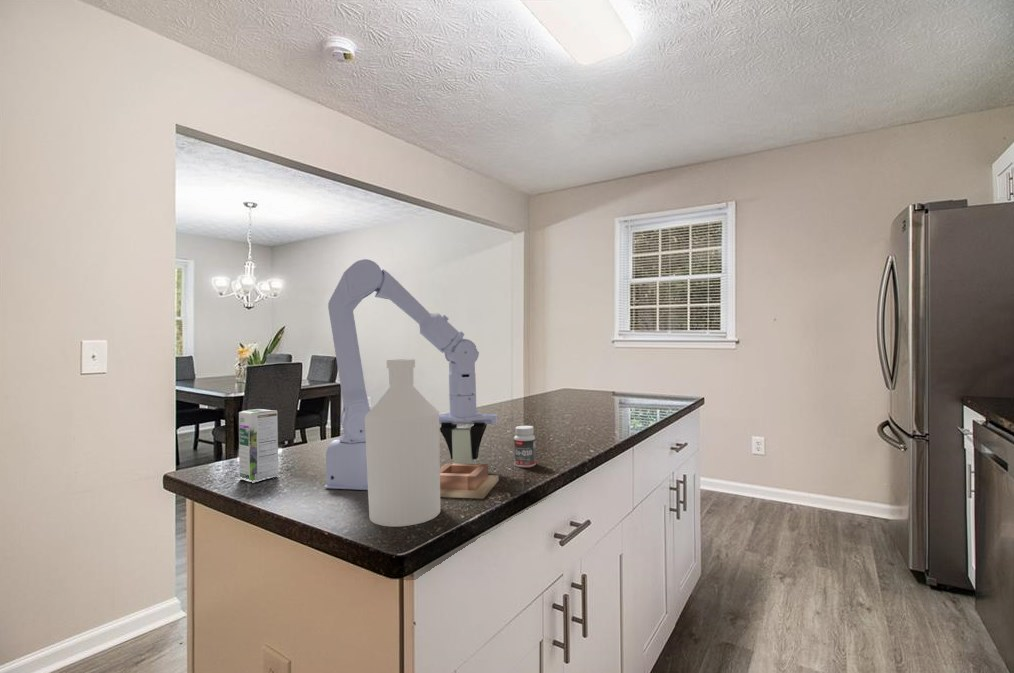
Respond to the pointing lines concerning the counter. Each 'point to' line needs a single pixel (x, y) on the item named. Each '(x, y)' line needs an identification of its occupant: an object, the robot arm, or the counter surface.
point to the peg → (462, 445)
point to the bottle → (402, 453)
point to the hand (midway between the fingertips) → (464, 458)
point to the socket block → (466, 480)
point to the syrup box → (258, 444)
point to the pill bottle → (524, 447)
